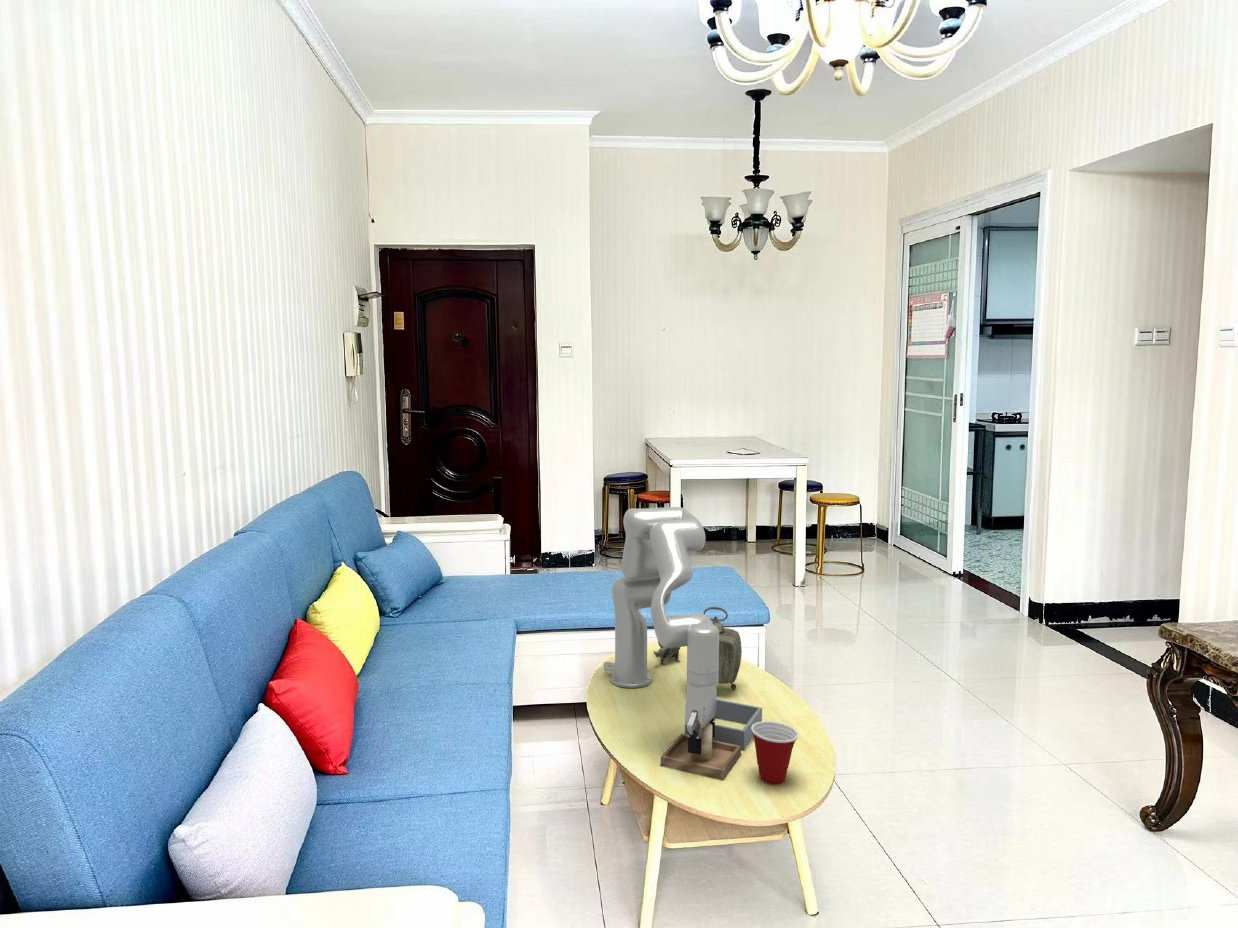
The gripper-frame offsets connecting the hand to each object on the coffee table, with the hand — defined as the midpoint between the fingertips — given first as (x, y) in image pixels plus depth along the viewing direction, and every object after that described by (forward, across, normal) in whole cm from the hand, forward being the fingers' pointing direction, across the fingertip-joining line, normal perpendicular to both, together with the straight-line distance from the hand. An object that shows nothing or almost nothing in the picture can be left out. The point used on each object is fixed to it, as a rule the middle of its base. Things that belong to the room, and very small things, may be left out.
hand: (701, 744), depth 205 cm
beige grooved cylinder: (+3, 0, 0) cm, 3 cm away
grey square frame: (+4, -17, 0) cm, 17 cm away
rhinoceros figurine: (+4, -58, -32) cm, 66 cm away
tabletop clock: (+4, -41, -11) cm, 43 cm away
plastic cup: (+4, +1, +18) cm, 19 cm away
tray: (+4, 0, 0) cm, 4 cm away
